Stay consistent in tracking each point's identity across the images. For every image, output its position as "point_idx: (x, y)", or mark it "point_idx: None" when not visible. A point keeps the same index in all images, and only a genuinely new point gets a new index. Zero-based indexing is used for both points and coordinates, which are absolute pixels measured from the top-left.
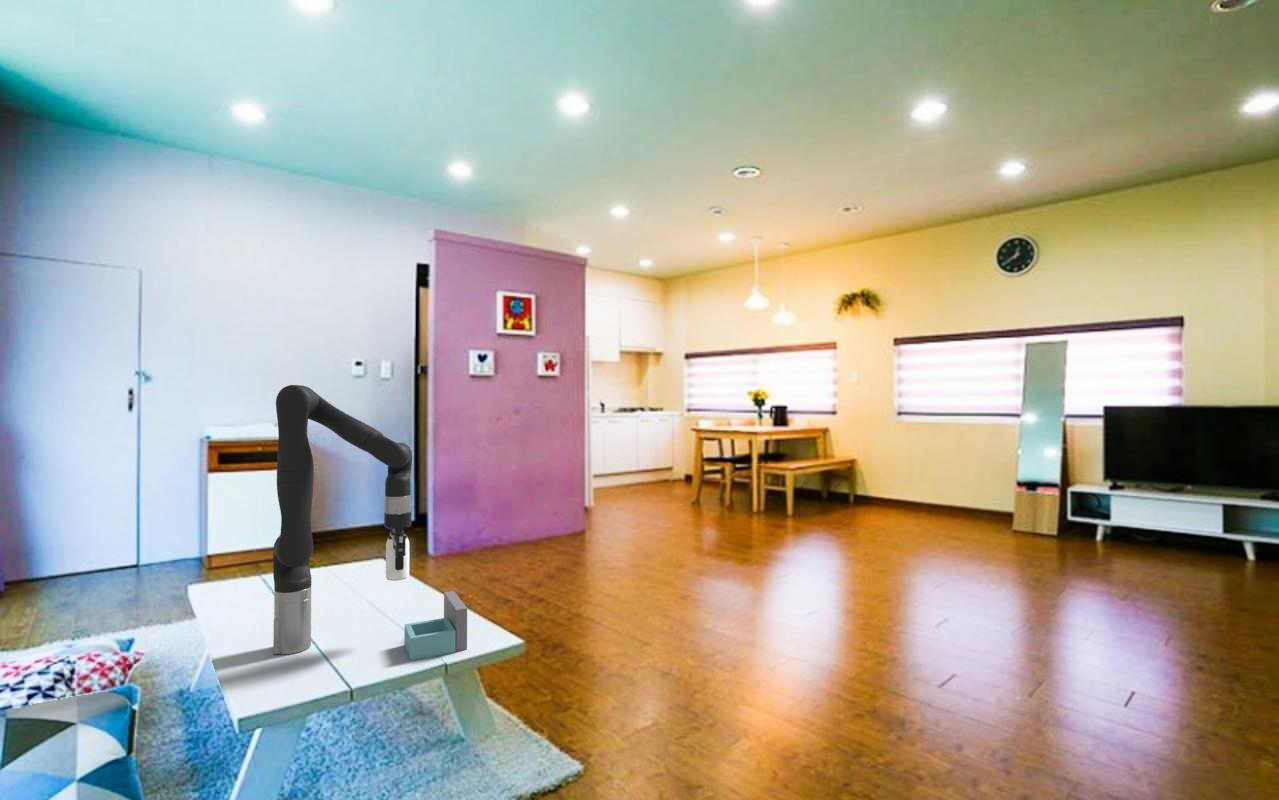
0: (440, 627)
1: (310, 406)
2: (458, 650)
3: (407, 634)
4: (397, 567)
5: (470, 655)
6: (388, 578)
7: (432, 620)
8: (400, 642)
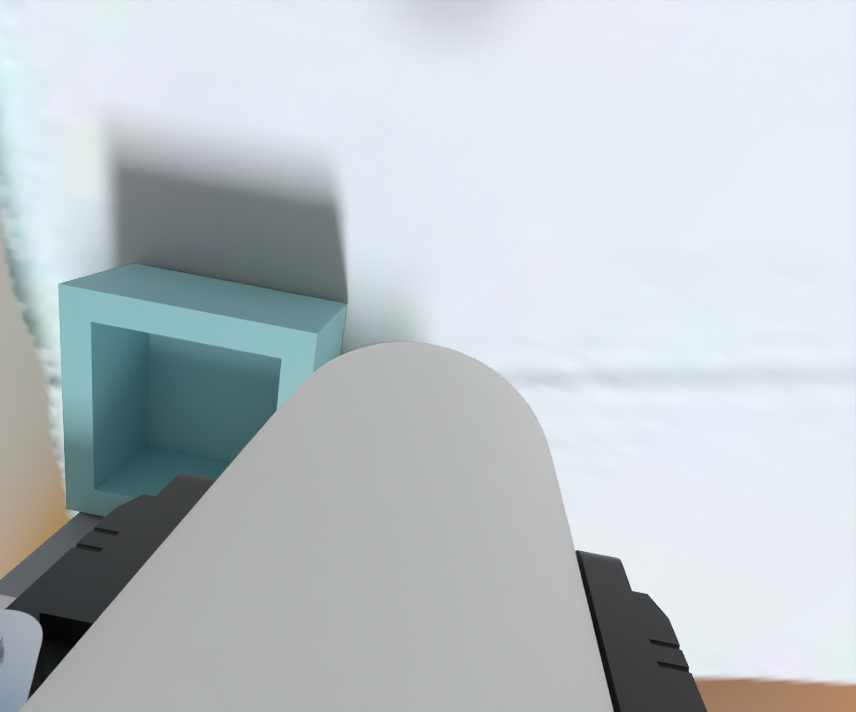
0: None
1: None
2: None
3: (195, 303)
4: (122, 506)
5: None
6: (349, 352)
7: None
8: (412, 302)
